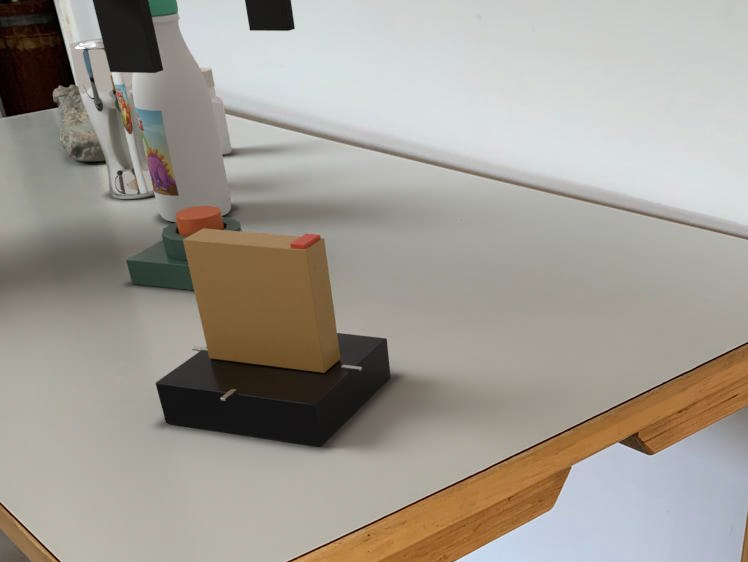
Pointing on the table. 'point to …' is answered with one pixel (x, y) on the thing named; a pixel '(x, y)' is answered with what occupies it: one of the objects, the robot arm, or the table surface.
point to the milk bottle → (179, 124)
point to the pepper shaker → (218, 112)
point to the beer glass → (112, 119)
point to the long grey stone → (76, 126)
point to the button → (198, 219)
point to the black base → (275, 393)
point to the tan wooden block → (264, 298)
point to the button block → (167, 260)
